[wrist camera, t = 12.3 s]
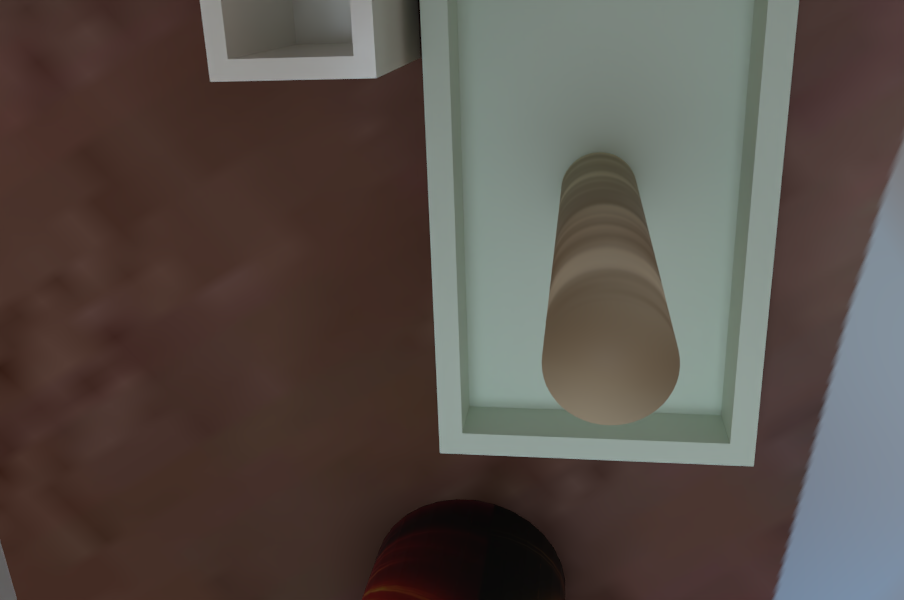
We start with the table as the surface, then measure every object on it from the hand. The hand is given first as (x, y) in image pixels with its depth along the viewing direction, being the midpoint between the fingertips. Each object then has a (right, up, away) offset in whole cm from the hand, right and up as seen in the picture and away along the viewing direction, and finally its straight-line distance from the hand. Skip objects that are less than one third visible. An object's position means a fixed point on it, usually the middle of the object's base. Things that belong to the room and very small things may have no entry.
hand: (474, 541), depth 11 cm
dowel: (+6, +7, +24) cm, 26 cm away
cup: (-4, +15, +24) cm, 29 cm away
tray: (+6, +8, +25) cm, 27 cm away
